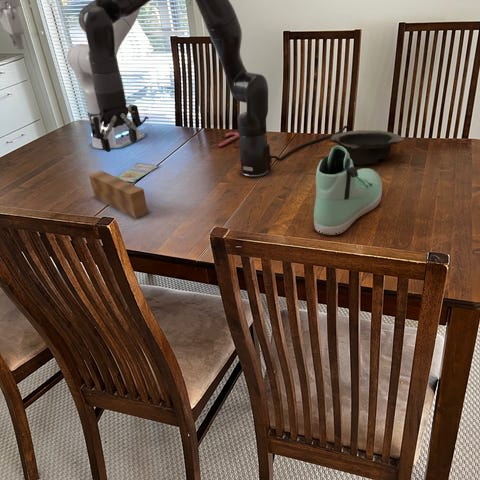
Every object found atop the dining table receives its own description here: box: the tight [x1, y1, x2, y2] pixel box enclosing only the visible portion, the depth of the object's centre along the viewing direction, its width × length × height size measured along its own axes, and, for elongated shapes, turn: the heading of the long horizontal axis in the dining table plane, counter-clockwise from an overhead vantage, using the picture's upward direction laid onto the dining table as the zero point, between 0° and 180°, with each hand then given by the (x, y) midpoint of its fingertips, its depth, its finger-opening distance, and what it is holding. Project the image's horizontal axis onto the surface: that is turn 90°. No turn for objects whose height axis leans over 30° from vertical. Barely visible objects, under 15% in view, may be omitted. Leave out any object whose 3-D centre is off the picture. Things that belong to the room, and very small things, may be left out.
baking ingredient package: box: [116, 163, 158, 183], centre depth 172 cm, size 9×1×15 cm
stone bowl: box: [329, 129, 404, 166], centre depth 169 cm, size 25×25×9 cm
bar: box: [88, 170, 149, 219], centre depth 149 cm, size 24×4×8 cm, turn 45°
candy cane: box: [218, 131, 239, 148], centre depth 194 cm, size 6×15×2 cm, turn 145°
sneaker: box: [313, 145, 383, 236], centre depth 133 cm, size 14×35×20 cm, turn 152°
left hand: (18, 47), depth 160 cm, fingers open, 8 cm apart
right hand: (121, 146), depth 136 cm, fingers open, 8 cm apart
